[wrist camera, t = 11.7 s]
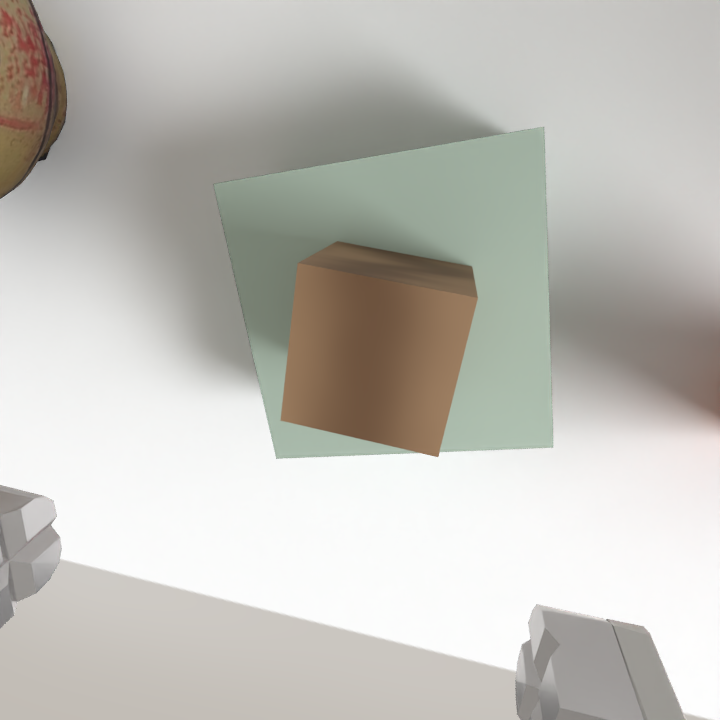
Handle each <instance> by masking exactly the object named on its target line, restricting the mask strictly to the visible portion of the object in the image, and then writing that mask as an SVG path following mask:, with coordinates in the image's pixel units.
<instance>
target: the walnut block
mask: <svg viewBox="0 0 720 720" xmlns="http://www.w3.org/2000/svg"><path fill="white" fill-rule="evenodd" d="M477 300H478V295H477V290H476V284H475V279H474V273H473V268H472V266H467V265H462V264H457V263H451V262H446V261H441V260H435V259H430V258H425V257H419V256H414V255H409V254H403V253H398V252H392V251H387V250H382V249H376V248H371V247H366V246H360V245H355V244H350V243H344V242H339V241H337V242H335V243H333V244H331V245H329V246H328V247H326V248H324V249H322V250H320V251H318V252H317V253H315V254H313V255H311V256H309V257H308V258H306V259H304V260H302V261H300V262H299V263H298V264H297V273H296V283H295V292H294V301H293V310H292V319H291V328H290V338H289V347H288V356H287V365H286V374H285V383H284V392H283V402H282V411H281V420H280V421H284V422H289V423H293V424H297V425H302V426H306V427H310V428H315V429H319V430H323V431H328V432H332V433H336V434H341V435H345V436H349V437H354V438H358V439H362V440H366V441H371V442H375V443H379V444H384V445H388V446H392V447H397V448H401V449H405V450H410V451H414V452H418V453H423V454H427V455H431V456H436V457H438V456H439V452H440V448H441V444H442V440H443V436H444V432H445V428H446V424H447V420H448V416H449V412H450V408H451V404H452V400H453V396H454V392H455V388H456V384H457V380H458V376H459V372H460V368H461V364H462V360H463V356H464V352H465V348H466V344H467V340H468V336H469V332H470V328H471V324H472V320H473V316H474V312H475V308H476V304H477Z"/></svg>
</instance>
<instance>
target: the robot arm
mask: <svg viewBox="0 0 720 720" xmlns="http://www.w3.org/2000/svg"><path fill="white" fill-rule="evenodd" d="M56 517H57V514H56V510H55V505H54V501H53V500H51V499H49V498H47V497H45V496H42V495H38V494H34V493H30V492H26V491H22V490H18V489H14V488H10V487H6V486H2V485H0V628H1V627H2V626H3V625H4V624H5V623H6V622H7V621H8V620H9V619H10V618H12V617H13V616H14V613H15V608H16V604H17V602H18V601H20V600H22V599H24V598H27V597H29V596H31V595H33V594H35V593H37V592H38V591H39V590H40V589H41V588H42V587H43V586H44V585H45V584H46V583H47V581H49V580H50V578H51V576H52V574H53V573H54V571H55V569H56V567H57V565H58V564H59V560H60V555H61V549H62V548H61V541H60V537H59V535H58V534H57V533H56V531H55V530H54V529H53V527H52V526H51V524H52V522H53V521H54V520H55V518H56ZM528 624H529V632H530V640H529V641H527V642H525V643H524V644H522V646H521V650H520V654H519V658H518V662H517V671H516V705H517V715H518V716H519V718H520V719H521V720H686V718H685V716H684V713H683V711H682V708H681V706H680V704H679V701H678V699H677V697H676V694H675V692H674V690H673V687H672V685H671V682H670V680H669V678H668V675H667V673H666V671H665V668H664V666H663V663H662V661H661V659H660V656H659V654H658V652H657V649H656V647H655V644H654V642H653V640H652V637H651V635H650V633H649V632H648V631H647V630H646V629H645V628H644V627H643V626H639V625H634V624H629V623H624V622H619V621H615V620H610V619H606V620H605V619H603V618H599V617H594V616H589V615H585V614H580V613H575V612H571V611H566V610H561V609H556V608H552V607H547V606H542V605H537V604H536V606H535V607H534V609H533V610H532V613H531V616H530V619H529V622H528Z"/></svg>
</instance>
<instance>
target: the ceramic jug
mask: <svg viewBox="0 0 720 720" xmlns="http://www.w3.org/2000/svg"><path fill="white" fill-rule="evenodd" d="M66 107H67V93H66V84H65V78H64V73H63V70H62V67H61V65H60V62H59V60H58V57H57V55H56V52H55V50H54V47H53V45H52V42H51V41H50V39H49V38H48V36H47V35H46V33H45V32H44V30H43V27H42V25H41V22H40V20H39V17H38V15H37V12H36V10H35V8H34V5H33V3H32V1H31V0H0V199H1V198H2V197H4V196H5V195H6V194H8V193H9V192H11V191H12V190H14V189H15V188H16V187H17V186H19V185H20V184H21V183H22V182H23V181H24V180H25V178H26V177H27V176H28V175H29V174H30V172H31V171H32V169H33V168H34V166H35V164H36V163H37V161H41V160H45V159H46V157H47V155H48V152H49V149H50V146H51V145H52V144H53V143H54V142H55V141H56V140H57V138H58V136H59V134H60V132H61V130H62V127H63V125H64V123H65V117H66Z"/></svg>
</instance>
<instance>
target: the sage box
mask: <svg viewBox="0 0 720 720" xmlns="http://www.w3.org/2000/svg"><path fill="white" fill-rule="evenodd" d="M213 185H214V189H215V194H216V198H217V202H218V207H219V211H220V215H221V220H222V224H223V228H224V233H225V237H226V241H227V246H228V250H229V255H230V259H231V263H232V268H233V272H234V276H235V281H236V285H237V289H238V294H239V298H240V302H241V307H242V311H243V315H244V320H245V324H246V328H247V333H248V337H249V341H250V346H251V350H252V354H253V359H254V363H255V368H256V372H257V376H258V381H259V385H260V389H261V394H262V398H263V402H264V407H265V411H266V415H267V420H268V424H269V428H270V433H271V437H272V441H273V446H274V450H275V454H276V459H279V458H304V457H329V456H354V455H379V454H404V453H418V452H414V451H410V450H405V449H401V448H397V447H392V446H388V445H384V444H379V443H375V442H371V441H366V440H362V439H358V438H354V437H349V436H345V435H341V434H336V433H332V432H328V431H323V430H319V429H315V428H310V427H306V426H302V425H297V424H293V423H289V422H284V421H280V420H281V411H282V402H283V392H284V383H285V374H286V365H287V356H288V347H289V338H290V328H291V319H292V310H293V301H294V292H295V283H296V273H297V264H298V263H299V262H300V261H302V260H304V259H306V258H308V257H309V256H311V255H313V254H315V253H317V252H318V251H320V250H322V249H324V248H326V247H328V246H329V245H331V244H333V243H335V242H337V241H339V242H344V243H350V244H355V245H360V246H366V247H371V248H376V249H382V250H387V251H392V252H398V253H403V254H409V255H414V256H419V257H425V258H430V259H435V260H441V261H446V262H451V263H457V264H462V265H467V266H472V268H473V273H474V279H475V284H476V290H477V295H478V300H477V304H476V308H475V312H474V316H473V320H472V324H471V328H470V332H469V336H468V340H467V344H466V348H465V352H464V356H463V360H462V364H461V368H460V372H459V376H458V380H457V384H456V388H455V392H454V396H453V400H452V404H451V408H450V412H449V416H448V420H447V424H446V428H445V432H444V436H443V440H442V444H441V448H440V452H453V451H478V450H503V449H528V448H553V418H552V383H551V349H550V314H549V279H548V244H547V209H546V175H545V140H544V127H539V128H534V129H528V130H522V131H516V132H511V133H505V134H499V135H493V136H487V137H482V138H476V139H470V140H464V141H458V142H453V143H447V144H441V145H435V146H430V147H424V148H418V149H412V150H406V151H401V152H395V153H389V154H383V155H377V156H372V157H366V158H360V159H354V160H349V161H343V162H337V163H331V164H325V165H320V166H314V167H308V168H302V169H296V170H291V171H285V172H279V173H273V174H268V175H262V176H256V177H250V178H244V179H239V180H233V181H227V182H221V183H215V184H213Z"/></svg>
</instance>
